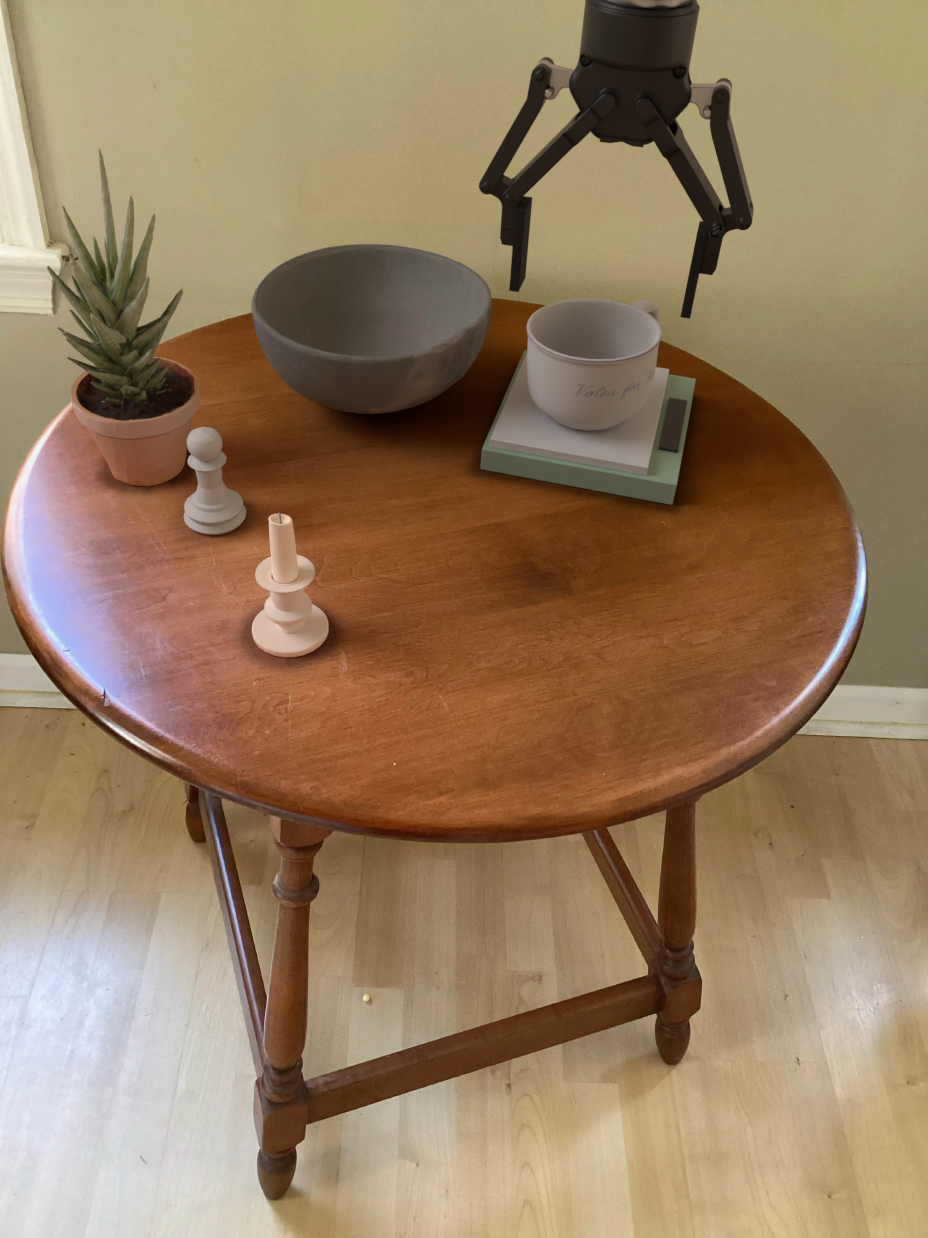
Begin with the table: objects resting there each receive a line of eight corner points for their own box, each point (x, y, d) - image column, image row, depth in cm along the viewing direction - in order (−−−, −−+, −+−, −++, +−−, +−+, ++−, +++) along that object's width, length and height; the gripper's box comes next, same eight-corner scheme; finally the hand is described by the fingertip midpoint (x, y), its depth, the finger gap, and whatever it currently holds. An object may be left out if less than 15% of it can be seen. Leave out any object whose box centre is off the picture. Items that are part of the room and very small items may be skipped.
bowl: (370, 315, 105) (368, 217, 98) (529, 393, 96) (540, 290, 89) (212, 391, 93) (198, 285, 86) (376, 487, 84) (375, 378, 77)
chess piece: (255, 527, 80) (244, 439, 74) (194, 543, 78) (179, 454, 73) (235, 493, 83) (224, 406, 77) (176, 507, 81) (161, 420, 76)
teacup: (575, 461, 83) (588, 372, 78) (493, 398, 89) (500, 312, 84) (698, 410, 90) (718, 325, 84) (614, 355, 96) (628, 272, 90)
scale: (691, 397, 96) (697, 370, 94) (672, 505, 84) (678, 476, 82) (522, 368, 99) (525, 341, 97) (480, 469, 87) (482, 440, 85)
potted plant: (220, 486, 83) (176, 172, 66) (98, 509, 81) (18, 188, 63) (195, 420, 90) (149, 119, 73) (81, 439, 87) (5, 131, 70)
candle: (286, 595, 75) (274, 476, 67) (344, 625, 73) (338, 506, 65) (236, 636, 71) (218, 516, 64) (295, 669, 69) (284, 549, 62)
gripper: (838, -1, 69) (762, 300, 84) (472, -40, 73) (460, 254, 87) (839, 27, 64) (757, 343, 78) (445, -16, 68) (436, 293, 82)
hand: (600, 297), depth 83 cm, fingers open, 13 cm apart
